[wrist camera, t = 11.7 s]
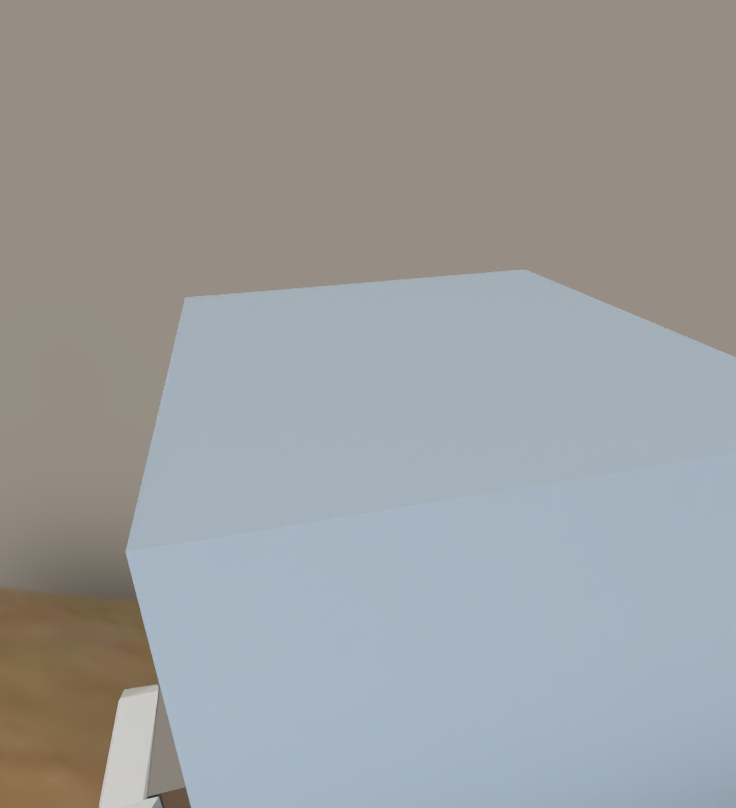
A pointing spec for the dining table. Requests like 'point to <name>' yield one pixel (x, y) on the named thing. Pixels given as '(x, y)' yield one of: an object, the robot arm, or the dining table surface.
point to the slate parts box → (442, 550)
